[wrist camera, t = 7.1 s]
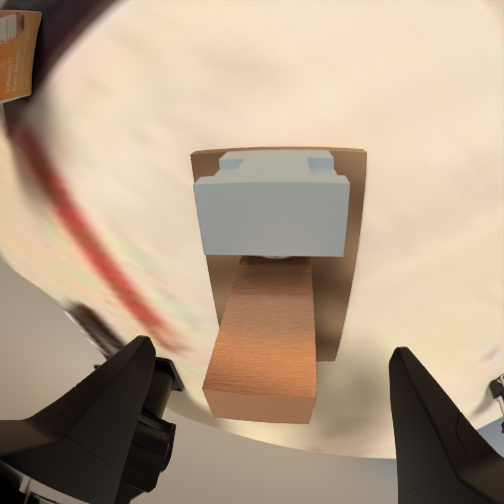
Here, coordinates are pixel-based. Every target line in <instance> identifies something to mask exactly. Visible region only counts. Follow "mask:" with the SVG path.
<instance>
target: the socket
mask: <svg viewBox="0 0 504 504" xmlns="http://www.w3.org/2000/svg"><path fill="white" fill-rule="evenodd" d="M219 166H220V170H219V171H218V172H217V173H216V174H215V175H214V176H207V177H200V178H199V179H198V180H197V181H196V182H195V183H194V184H193V188H194V195H195V201H196V208H197V214H198V220H199V227H200V233H201V239H202V245H203V250H204V255H264V256H333V257H343V254H344V245H345V236H346V227H347V217H348V205H349V192H350V182H349V181H348V179H347V178H346V176H345V175H337V173H336V171H335V170H334V158H333V156H332V155H331V153H330V152H329V151H326V150H255V151H233V152H227V153H226V154H224V155H223V156H222V157H221V158H220V159H219Z"/></svg>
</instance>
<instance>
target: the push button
mask: <svg viewBox="0 0 504 504" xmlns="http://www.w3.org/2000/svg"><path fill="white" fill-rule="evenodd" d="M490 390H491V393H492V396H493V399H496V398H497V399H496V400H497V401H499V404H500V408H501V411H502V414H503V417H504V374H503V375H502V376H501V377H499V378H498V379H496V380H493V381H491V384H490ZM502 429H503V430H502V433H504V422H503V423H502Z"/></svg>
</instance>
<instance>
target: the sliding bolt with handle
mask: <svg viewBox="0 0 504 504" xmlns="http://www.w3.org/2000/svg"><path fill="white" fill-rule="evenodd" d="M202 390H203V392H204V395H205V397H206V400H207V402H208V404H209V407H210V409H211V411H212V414H213V416H214V417H218V418H226V419H234V420H244V421H255V422H269V423H293V424H309V422H310V419H311V415H312V411H313V408H314V404H315V400H316V349H315V323H314V304H313V287H312V273H311V260H310V256H264V255H241V258H240V262H239V265H238V268H237V272H236V275H235V278H234V282H233V285H232V288H231V292H230V295H229V299H228V302H227V305H226V309H225V312H224V315H223V319H222V322H221V326H220V329H219V332H218V336H217V339H216V343H215V346H214V349H213V353H212V356H211V360H210V363H209V367H208V370H207V374H206V377H205V380H204V384H203V387H202Z"/></svg>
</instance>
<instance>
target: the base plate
mask: <svg viewBox="0 0 504 504" xmlns="http://www.w3.org/2000/svg"><path fill="white" fill-rule="evenodd" d="M255 150H326V151H329V152H330V153H331V155H332V156H333V158H334V170H335V171H336V173H337V175H345V176H346V178H347V179H348V181H349V182H350V192H349V205H348V217H347V227H346V236H345V245H344V254H343V257H333V256H310V260H311V273H312V287H313V304H314V323H315V349H316V361H335V358H336V355H337V351H338V347H339V342H340V338H341V334H342V330H343V325H344V321H345V316H346V311H347V306H348V302H349V296H350V291H351V286H352V280H353V274H354V269H355V262H356V256H357V249H358V242H359V235H360V227H361V219H362V210H363V200H364V189H365V177H366V162H367V152H365V151H364V150H363V149H350V148H330V147H252V148H231V149H216V150H203V151H195V152H194V153H192V154H191V162H192V170H193V177H194V183H195V182H196V181H197V180H198V179H199V178H200V177H207V176H214V175H215V174H216V173H217V172H218V171H219V170H220V166H219V159H220V158H221V157H222V156H223V155H224V154H226V153H227V152H233V151H255ZM240 258H241V255H206V260H207V265H208V271H209V276H210V282H211V287H212V292H213V298H214V303H215V308H216V313H217V318H218V323H219V328H220V326H221V322H222V319H223V315H224V312H225V309H226V305H227V302H228V299H229V295H230V292H231V288H232V285H233V282H234V278H235V275H236V272H237V268H238V265H239V262H240Z"/></svg>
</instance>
